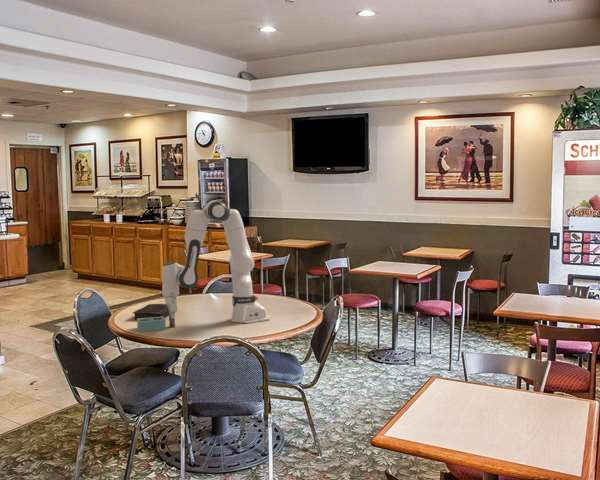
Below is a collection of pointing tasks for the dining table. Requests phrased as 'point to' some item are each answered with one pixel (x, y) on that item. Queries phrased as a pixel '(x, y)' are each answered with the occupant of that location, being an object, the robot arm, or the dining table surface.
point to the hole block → (151, 324)
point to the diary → (152, 311)
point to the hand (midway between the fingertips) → (171, 316)
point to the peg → (171, 320)
